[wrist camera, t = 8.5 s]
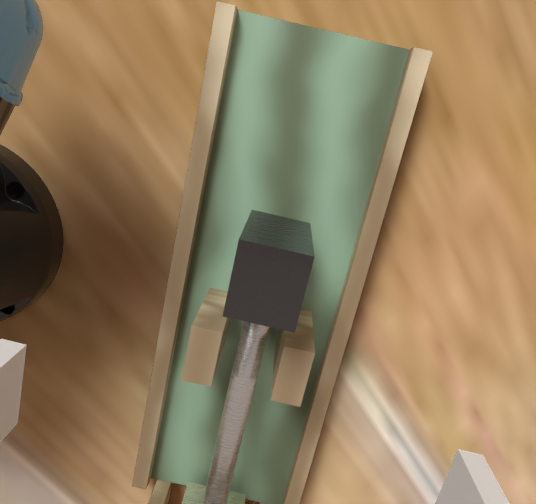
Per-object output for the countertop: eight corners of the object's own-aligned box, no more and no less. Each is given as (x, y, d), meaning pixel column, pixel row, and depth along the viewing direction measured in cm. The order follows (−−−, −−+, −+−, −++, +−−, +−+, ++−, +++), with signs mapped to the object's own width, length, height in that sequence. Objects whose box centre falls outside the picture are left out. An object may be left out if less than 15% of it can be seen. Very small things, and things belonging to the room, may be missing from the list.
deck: (132, 523, 47) (95, 616, 38) (224, 11, 35) (200, -23, 26) (275, 555, 47) (271, 655, 39) (419, 57, 35) (461, 39, 26)
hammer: (247, 202, 35) (229, 236, 25) (316, 218, 35) (324, 258, 25) (184, 500, 42) (151, 614, 33) (241, 512, 42) (225, 630, 33)
